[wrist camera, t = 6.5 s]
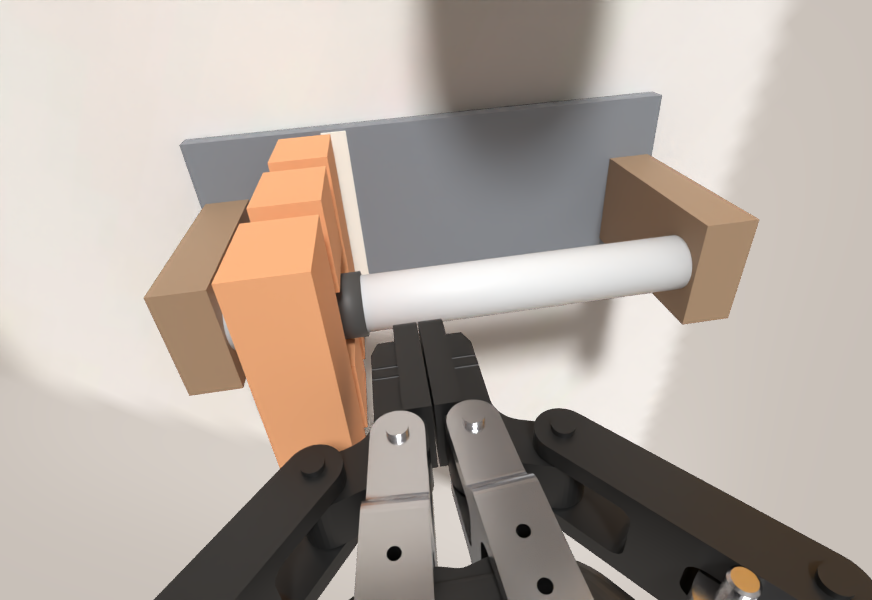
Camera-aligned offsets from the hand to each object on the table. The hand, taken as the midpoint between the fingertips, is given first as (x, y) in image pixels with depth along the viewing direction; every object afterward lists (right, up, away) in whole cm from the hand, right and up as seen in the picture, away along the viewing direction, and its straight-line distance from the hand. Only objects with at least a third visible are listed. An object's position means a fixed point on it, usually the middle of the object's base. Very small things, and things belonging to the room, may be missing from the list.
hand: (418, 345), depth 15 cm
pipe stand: (+1, +5, +8) cm, 10 cm away
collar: (-4, +4, +7) cm, 9 cm away
